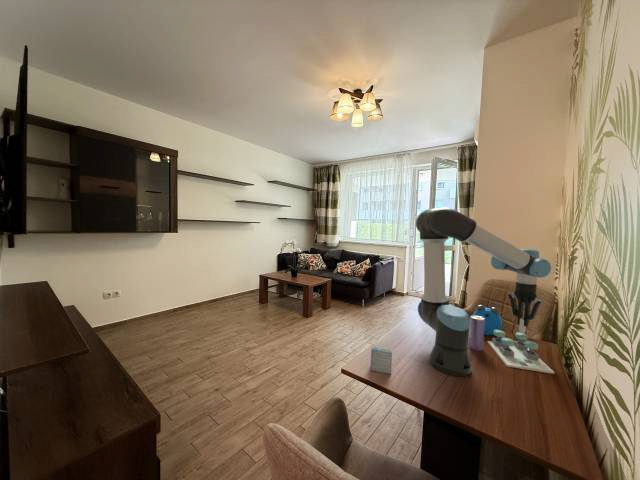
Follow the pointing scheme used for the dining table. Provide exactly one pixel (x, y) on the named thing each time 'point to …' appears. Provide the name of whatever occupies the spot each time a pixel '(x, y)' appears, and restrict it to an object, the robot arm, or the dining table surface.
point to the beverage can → (476, 332)
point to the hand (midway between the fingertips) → (522, 331)
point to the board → (519, 356)
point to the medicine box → (381, 359)
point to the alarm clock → (489, 318)
